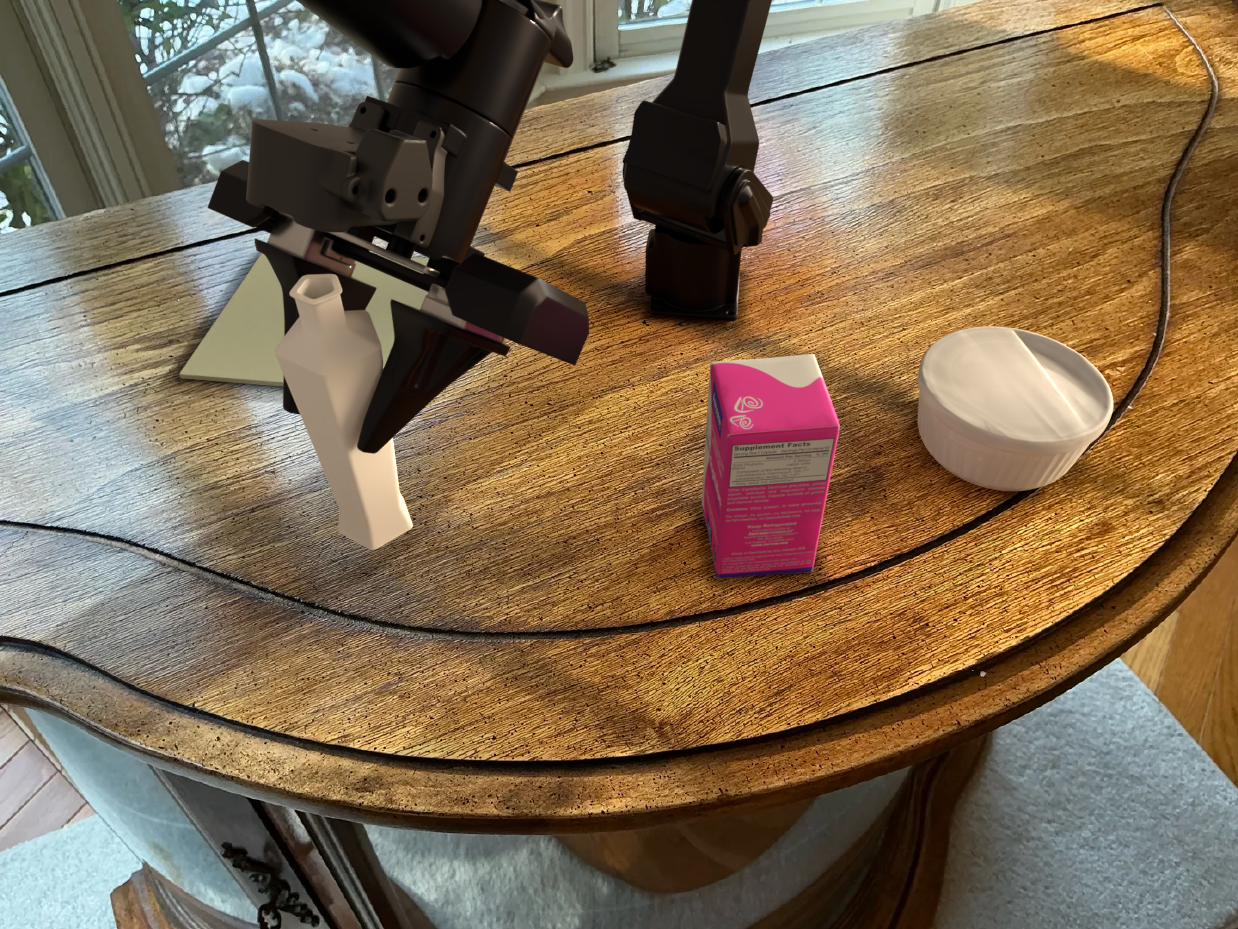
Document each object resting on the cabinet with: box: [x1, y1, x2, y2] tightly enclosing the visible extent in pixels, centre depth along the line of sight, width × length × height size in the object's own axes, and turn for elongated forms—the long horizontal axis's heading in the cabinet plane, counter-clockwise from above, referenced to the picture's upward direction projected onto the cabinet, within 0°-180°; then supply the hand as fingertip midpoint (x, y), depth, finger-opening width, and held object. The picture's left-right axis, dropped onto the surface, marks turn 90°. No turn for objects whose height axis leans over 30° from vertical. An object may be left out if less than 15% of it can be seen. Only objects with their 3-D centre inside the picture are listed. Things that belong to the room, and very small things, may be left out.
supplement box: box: [701, 353, 841, 580], centre depth 53 cm, size 6×6×12 cm
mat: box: [178, 253, 429, 387], centre depth 72 cm, size 17×16×1 cm
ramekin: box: [916, 325, 1114, 492], centre depth 61 cm, size 11×11×5 cm
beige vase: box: [274, 274, 413, 551], centre depth 47 cm, size 5×4×15 cm
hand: (328, 431), depth 46 cm, fingers closed on beige vase, 4 cm apart
